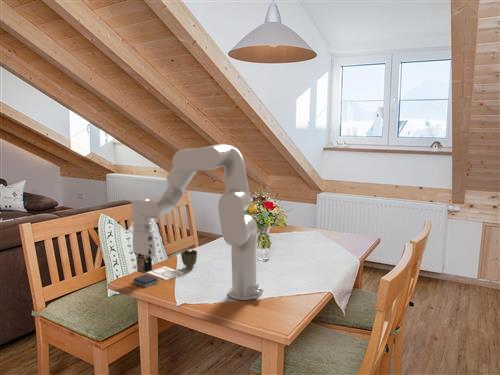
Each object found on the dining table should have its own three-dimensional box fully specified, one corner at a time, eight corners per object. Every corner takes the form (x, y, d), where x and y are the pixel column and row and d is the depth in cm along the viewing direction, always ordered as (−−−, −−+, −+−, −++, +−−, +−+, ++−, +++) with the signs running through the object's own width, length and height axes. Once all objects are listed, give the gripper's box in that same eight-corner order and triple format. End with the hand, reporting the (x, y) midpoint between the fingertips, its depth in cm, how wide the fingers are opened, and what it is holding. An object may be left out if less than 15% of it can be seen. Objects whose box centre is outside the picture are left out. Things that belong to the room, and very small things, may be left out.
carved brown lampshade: (199, 265, 199) (198, 249, 197) (195, 271, 192) (195, 254, 190) (183, 265, 200) (183, 249, 198) (179, 271, 192) (179, 254, 191)
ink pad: (159, 282, 179) (158, 278, 179) (145, 287, 174) (145, 283, 174) (146, 277, 185) (146, 273, 185) (132, 282, 180) (132, 278, 180)
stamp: (152, 270, 179) (151, 254, 178) (143, 273, 176) (142, 257, 175) (145, 268, 182) (145, 252, 181) (137, 271, 179) (136, 255, 177)
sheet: (184, 273, 189) (184, 272, 189) (166, 280, 182) (166, 279, 182) (164, 266, 198) (164, 266, 198) (146, 272, 191) (146, 272, 191)
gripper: (162, 228, 173) (164, 271, 176) (138, 222, 184) (140, 262, 187) (147, 232, 167) (149, 276, 171) (123, 226, 178) (125, 267, 181)
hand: (144, 268), depth 179 cm, fingers closed on stamp, 4 cm apart
